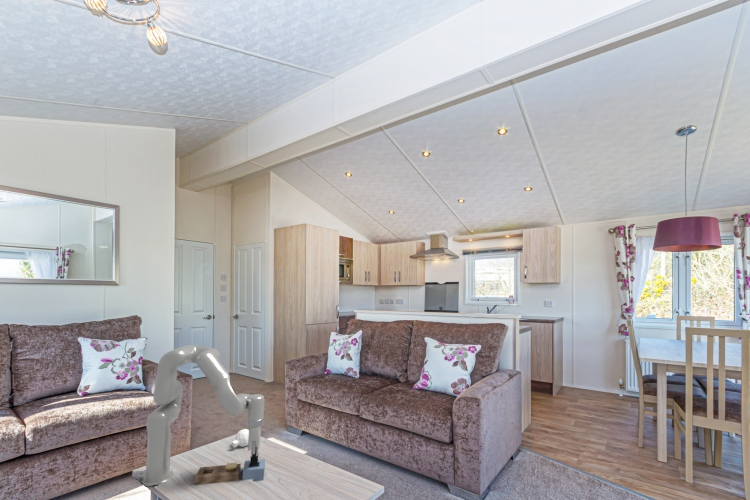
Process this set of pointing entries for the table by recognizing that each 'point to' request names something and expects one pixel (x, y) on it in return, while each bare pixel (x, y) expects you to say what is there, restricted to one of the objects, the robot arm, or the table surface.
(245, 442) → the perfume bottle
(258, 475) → the blue square hole block
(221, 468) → the socket block
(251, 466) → the steel peg
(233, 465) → the key
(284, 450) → the table surface
